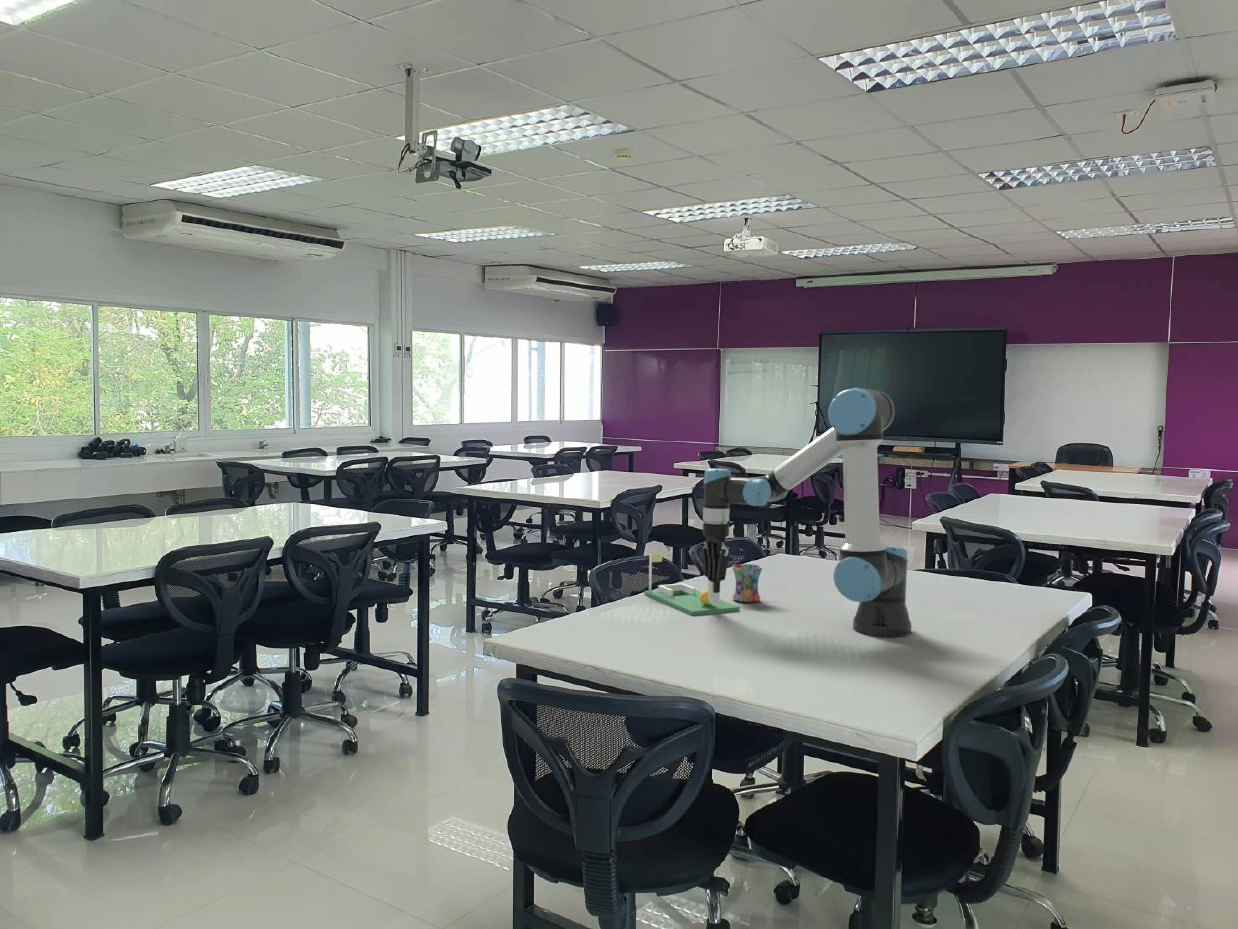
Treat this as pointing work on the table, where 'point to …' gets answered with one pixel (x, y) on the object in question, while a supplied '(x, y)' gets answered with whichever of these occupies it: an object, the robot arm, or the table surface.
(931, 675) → the table surface
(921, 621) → the table surface
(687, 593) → the green
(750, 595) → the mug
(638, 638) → the table surface
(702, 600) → the ball
